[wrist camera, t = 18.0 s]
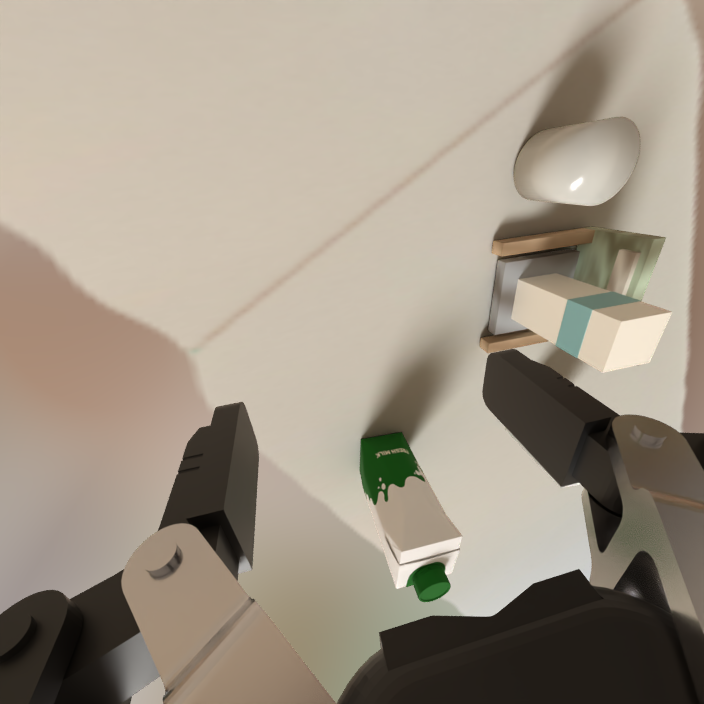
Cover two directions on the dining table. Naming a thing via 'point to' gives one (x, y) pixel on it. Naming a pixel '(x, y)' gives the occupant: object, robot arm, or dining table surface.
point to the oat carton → (589, 321)
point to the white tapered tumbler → (578, 162)
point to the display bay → (567, 272)
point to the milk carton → (408, 517)
